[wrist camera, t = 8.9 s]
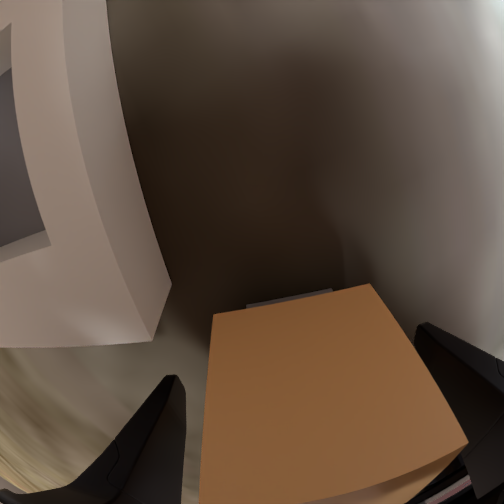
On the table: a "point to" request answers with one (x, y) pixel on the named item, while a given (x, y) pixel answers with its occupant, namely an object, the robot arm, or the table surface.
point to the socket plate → (70, 187)
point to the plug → (320, 405)
